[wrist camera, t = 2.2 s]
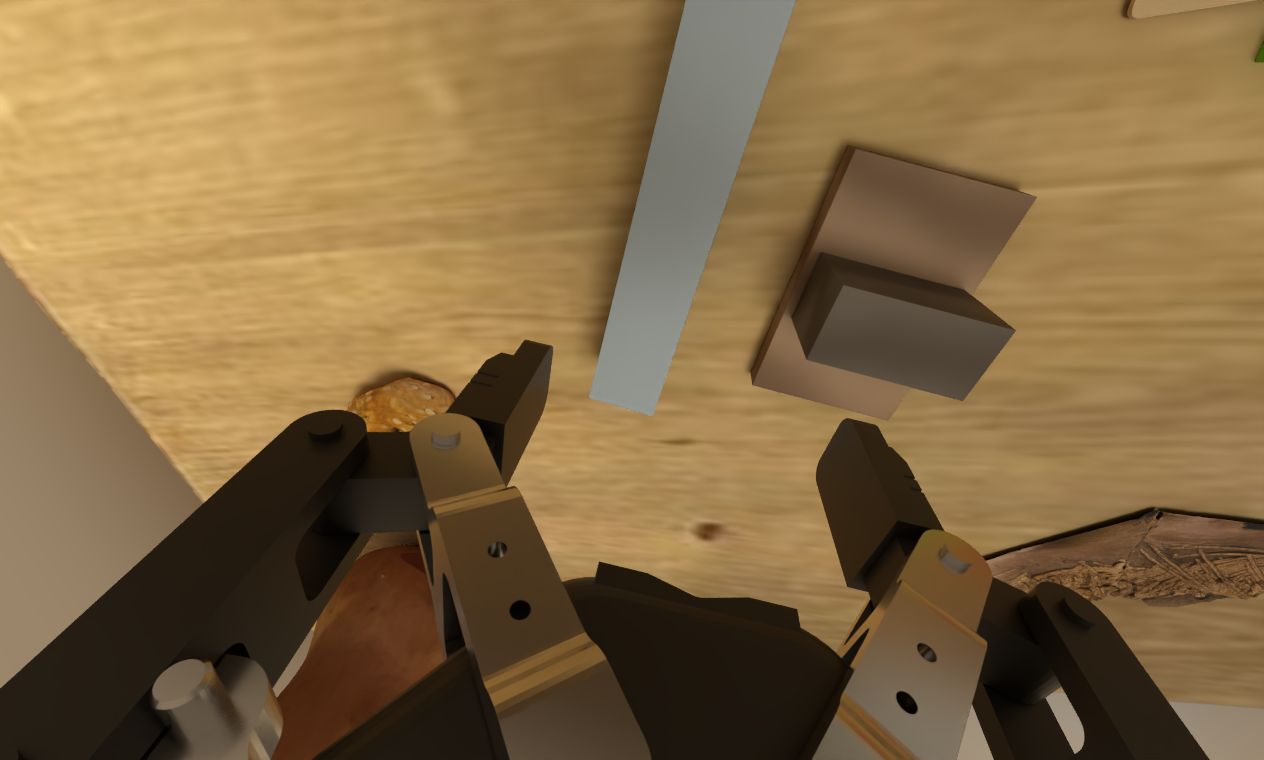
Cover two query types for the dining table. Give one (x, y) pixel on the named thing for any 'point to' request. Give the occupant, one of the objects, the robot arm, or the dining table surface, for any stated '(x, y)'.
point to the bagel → (400, 405)
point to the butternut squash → (361, 651)
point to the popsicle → (1178, 10)
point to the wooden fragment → (1147, 561)
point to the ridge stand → (891, 288)
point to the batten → (686, 187)
